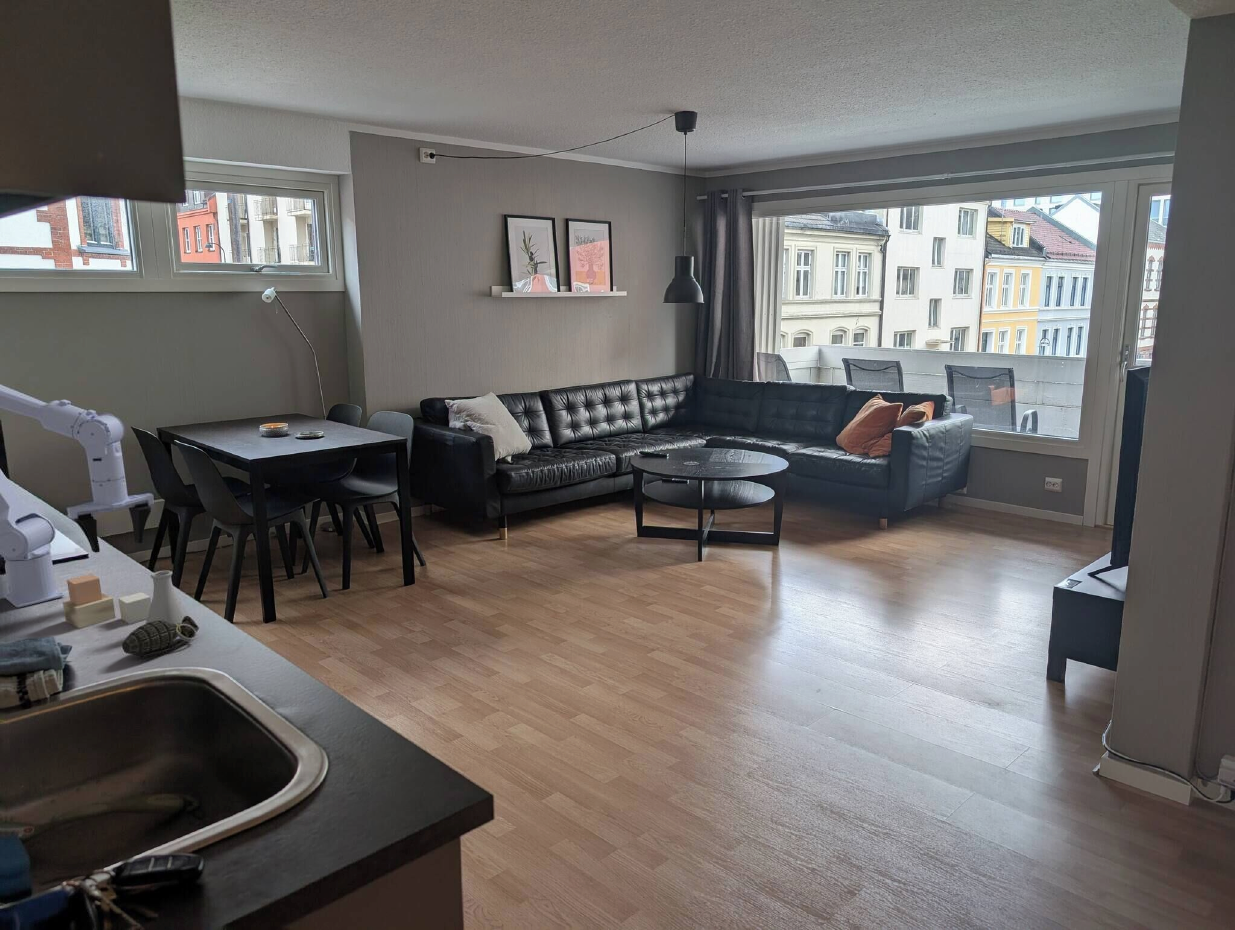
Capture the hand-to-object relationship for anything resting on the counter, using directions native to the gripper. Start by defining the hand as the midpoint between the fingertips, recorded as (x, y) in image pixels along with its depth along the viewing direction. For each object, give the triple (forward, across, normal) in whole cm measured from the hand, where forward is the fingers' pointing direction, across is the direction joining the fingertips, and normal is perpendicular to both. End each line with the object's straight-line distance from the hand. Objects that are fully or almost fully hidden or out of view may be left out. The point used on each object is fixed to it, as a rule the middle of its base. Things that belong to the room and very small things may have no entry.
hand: (117, 546), depth 165 cm
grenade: (+10, -5, -34) cm, 36 cm away
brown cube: (+6, -9, -9) cm, 14 cm away
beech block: (+10, -9, -9) cm, 16 cm away
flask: (+10, -1, -24) cm, 26 cm away
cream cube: (+10, -3, -15) cm, 18 cm away
